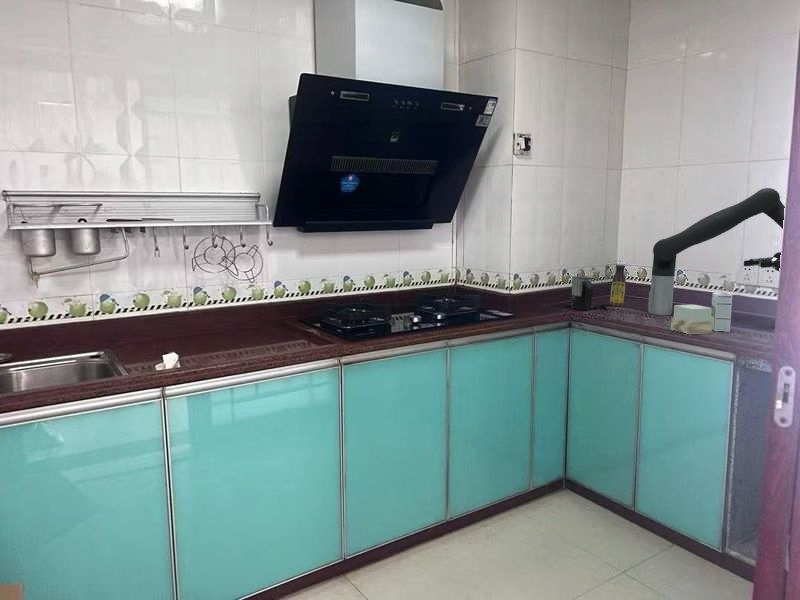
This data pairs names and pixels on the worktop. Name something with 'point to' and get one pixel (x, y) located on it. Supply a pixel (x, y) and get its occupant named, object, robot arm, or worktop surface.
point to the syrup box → (721, 311)
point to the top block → (692, 313)
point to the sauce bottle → (618, 286)
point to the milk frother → (583, 293)
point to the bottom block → (691, 326)
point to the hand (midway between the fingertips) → (752, 264)
